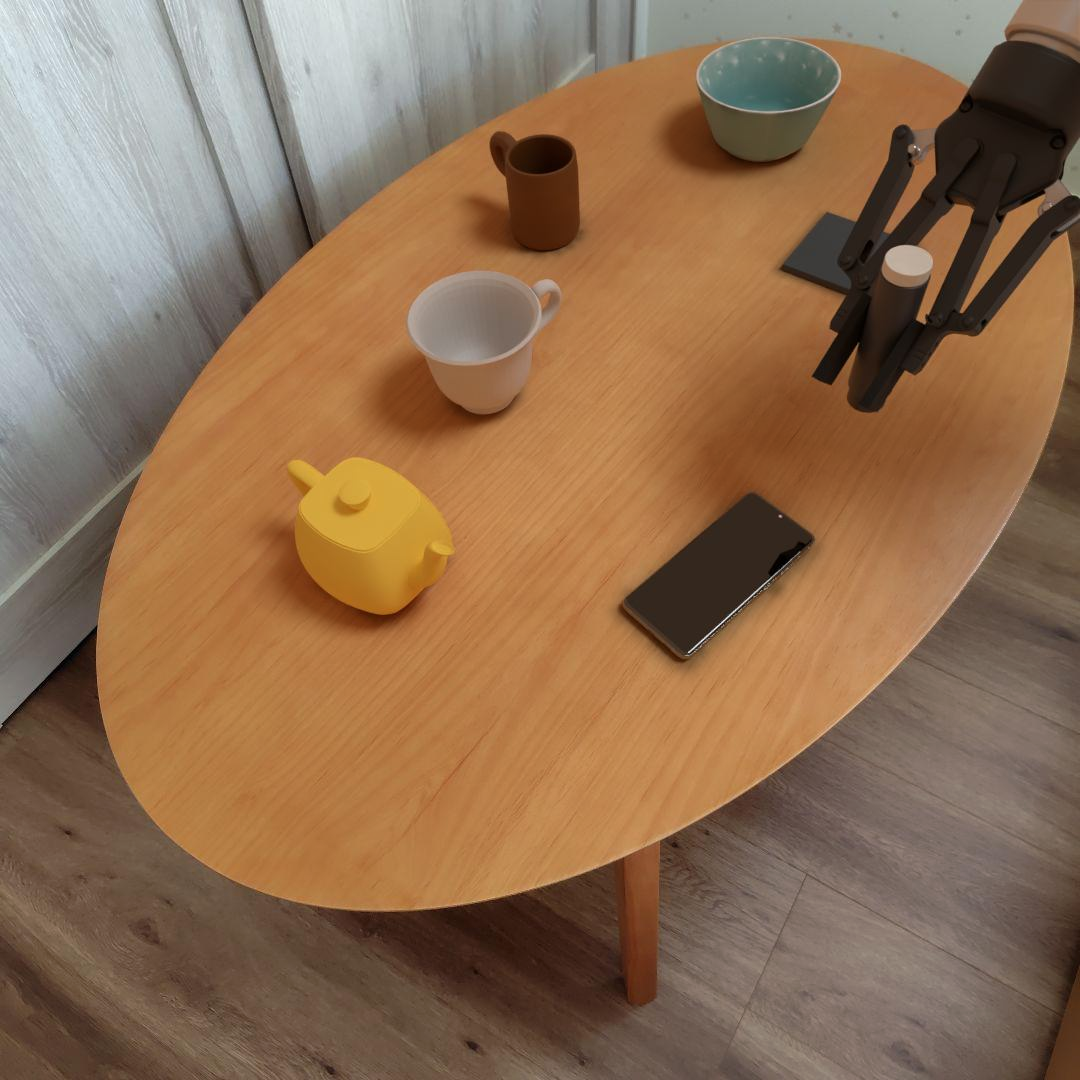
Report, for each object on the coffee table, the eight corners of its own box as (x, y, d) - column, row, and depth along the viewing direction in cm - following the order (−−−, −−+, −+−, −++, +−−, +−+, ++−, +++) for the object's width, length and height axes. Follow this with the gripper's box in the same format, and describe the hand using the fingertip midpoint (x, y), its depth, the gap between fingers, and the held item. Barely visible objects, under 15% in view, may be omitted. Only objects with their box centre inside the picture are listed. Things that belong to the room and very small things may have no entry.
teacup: (597, 391, 90) (595, 311, 82) (462, 460, 86) (445, 384, 78) (532, 320, 96) (524, 239, 88) (403, 382, 93) (382, 303, 84)
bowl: (664, 135, 113) (667, 67, 106) (765, 87, 117) (774, 20, 110) (751, 198, 105) (760, 130, 98) (856, 145, 109) (872, 76, 102)
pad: (913, 248, 98) (915, 242, 98) (871, 304, 94) (873, 298, 94) (825, 217, 102) (826, 211, 102) (781, 270, 98) (782, 263, 97)
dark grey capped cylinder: (895, 394, 71) (943, 254, 60) (876, 421, 70) (922, 282, 59) (855, 377, 72) (896, 237, 62) (836, 404, 71) (874, 265, 60)
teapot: (511, 575, 79) (498, 498, 70) (426, 672, 74) (400, 603, 66) (356, 480, 86) (326, 400, 77) (270, 564, 81) (227, 489, 73)
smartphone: (618, 601, 76) (751, 487, 81) (618, 608, 77) (750, 495, 82) (685, 660, 72) (820, 537, 77) (684, 666, 73) (818, 545, 78)
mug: (473, 214, 107) (462, 138, 99) (524, 184, 109) (516, 108, 102) (543, 262, 101) (536, 186, 93) (594, 230, 104) (592, 153, 96)
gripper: (1183, 132, 58) (957, 456, 66) (949, 47, 66) (770, 348, 73) (1185, 87, 52) (935, 451, 60) (926, -2, 59) (733, 333, 67)
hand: (844, 393), depth 67 cm, fingers closed on dark grey capped cylinder, 3 cm apart
